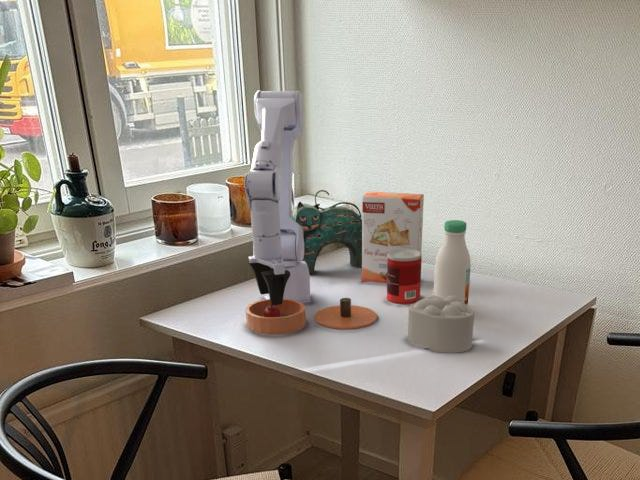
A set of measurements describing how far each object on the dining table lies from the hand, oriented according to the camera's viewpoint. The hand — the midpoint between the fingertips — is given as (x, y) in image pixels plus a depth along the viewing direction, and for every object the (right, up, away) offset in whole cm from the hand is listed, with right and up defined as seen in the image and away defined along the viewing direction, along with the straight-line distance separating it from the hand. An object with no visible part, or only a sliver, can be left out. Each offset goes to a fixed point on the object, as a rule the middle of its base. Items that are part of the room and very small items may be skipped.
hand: (271, 298), depth 156 cm
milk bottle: (+39, -2, +8) cm, 40 cm away
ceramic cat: (+11, +17, +37) cm, 42 cm away
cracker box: (+27, +11, +28) cm, 40 cm away
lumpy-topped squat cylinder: (+36, -10, -5) cm, 38 cm away
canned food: (+29, +3, +16) cm, 33 cm away
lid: (+16, -3, +5) cm, 17 cm away
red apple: (0, -4, +3) cm, 5 cm away
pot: (+1, -5, +3) cm, 6 cm away
